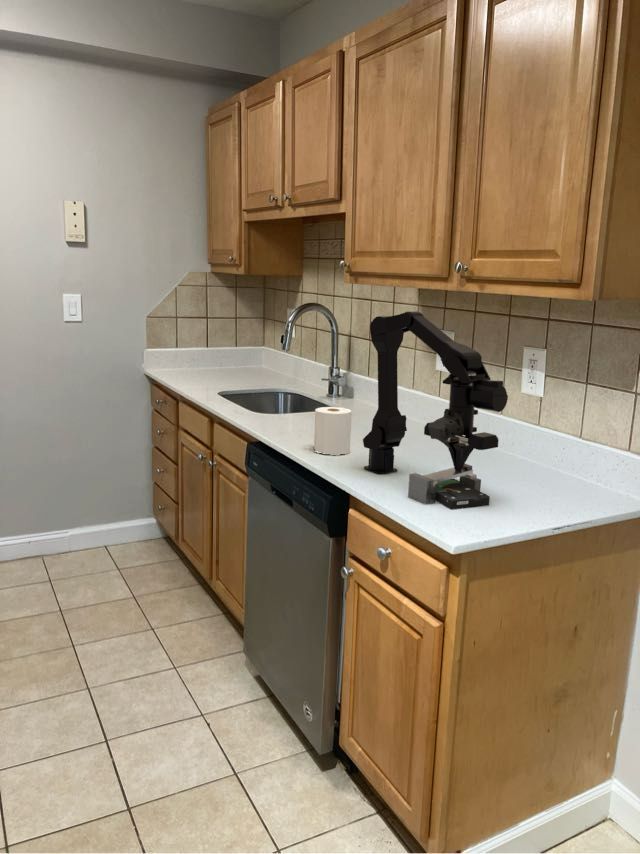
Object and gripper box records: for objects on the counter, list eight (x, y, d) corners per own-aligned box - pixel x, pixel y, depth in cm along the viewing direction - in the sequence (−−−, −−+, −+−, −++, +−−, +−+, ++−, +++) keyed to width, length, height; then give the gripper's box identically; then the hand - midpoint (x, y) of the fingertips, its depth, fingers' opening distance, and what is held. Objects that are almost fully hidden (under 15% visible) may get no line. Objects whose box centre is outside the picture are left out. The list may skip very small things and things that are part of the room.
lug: (458, 488, 171) (460, 472, 171) (464, 486, 173) (466, 471, 172) (474, 493, 167) (475, 477, 167) (480, 492, 169) (481, 476, 168)
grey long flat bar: (419, 479, 163) (419, 473, 162) (461, 468, 170) (461, 462, 170) (431, 484, 160) (431, 477, 159) (473, 472, 167) (473, 466, 166)
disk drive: (490, 508, 159) (453, 488, 173) (491, 496, 159) (454, 477, 172) (451, 512, 155) (416, 491, 169) (452, 500, 155) (417, 480, 168)
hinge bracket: (407, 496, 163) (408, 473, 162) (416, 494, 165) (418, 472, 164) (426, 504, 158) (428, 481, 157) (436, 502, 160) (438, 479, 159)
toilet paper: (355, 454, 200) (357, 412, 197) (321, 456, 196) (322, 413, 194) (341, 446, 209) (343, 406, 206) (308, 448, 205) (310, 407, 203)
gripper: (408, 401, 166) (405, 466, 169) (466, 415, 151) (462, 486, 154) (442, 397, 172) (439, 460, 175) (502, 410, 157) (497, 478, 160)
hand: (457, 470), depth 166 cm, fingers closed, pressing on grey long flat bar
